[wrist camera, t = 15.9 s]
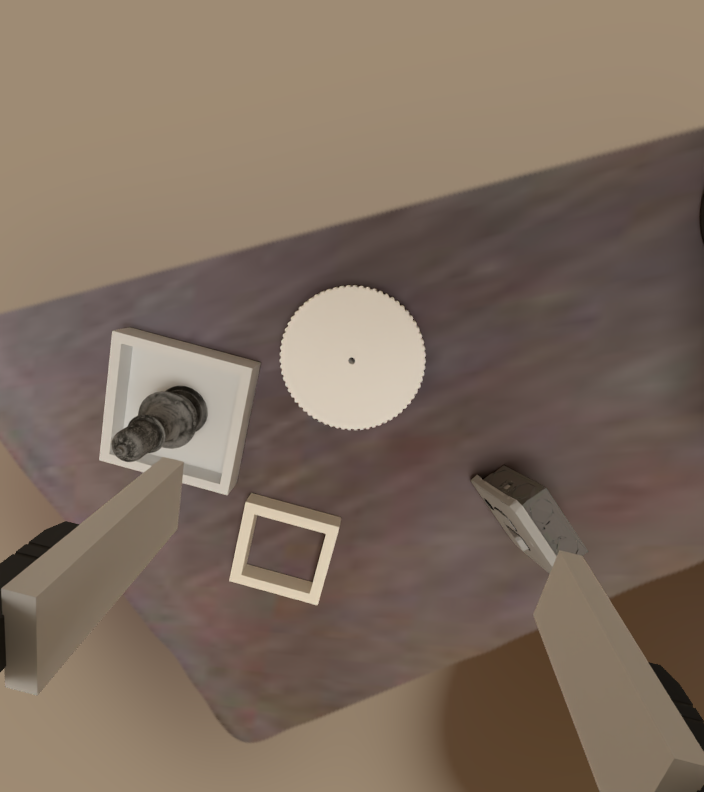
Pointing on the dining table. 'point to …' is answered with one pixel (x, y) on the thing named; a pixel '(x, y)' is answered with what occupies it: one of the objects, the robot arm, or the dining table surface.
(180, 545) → the dining table surface
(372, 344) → the cream gear
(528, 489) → the electrical switch
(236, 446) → the parts tray
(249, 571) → the socket collar
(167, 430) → the chess piece
